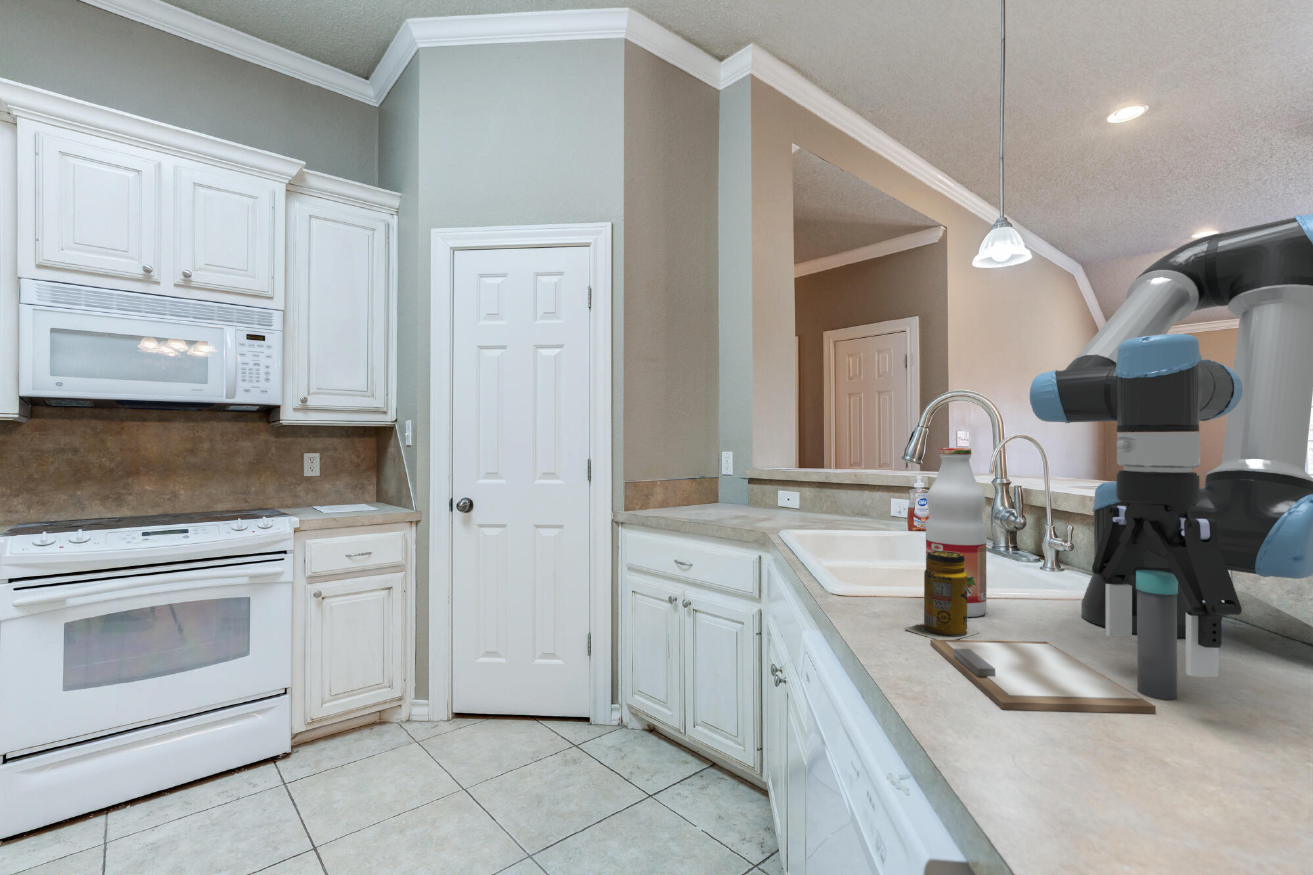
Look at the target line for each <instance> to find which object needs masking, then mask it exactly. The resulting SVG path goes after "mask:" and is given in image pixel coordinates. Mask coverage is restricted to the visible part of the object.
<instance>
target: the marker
mask: <svg viewBox="0 0 1313 875" xmlns="http://www.w3.org/2000/svg"><path fill="white" fill-rule="evenodd" d="M1136 589H1137V634H1136V650H1137V652H1136V659H1137V660H1136V668H1137V669H1136V675H1137V676H1136V677H1137V678H1136V679H1137V680H1136V681H1137V682H1136V684H1137V685H1136V686H1137V687H1136V688H1137V692H1138V693H1140V694H1141V695H1144V696H1145V697H1149V698H1152V699H1157V700H1164V701H1173V700H1177V699H1178V637H1177V594H1178V581H1177V579H1176V577H1175V575H1174V574H1173V573H1169V572H1163V571H1155V570H1137V571H1136Z"/></svg>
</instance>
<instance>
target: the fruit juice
mask: <svg viewBox="0 0 1313 875" xmlns="http://www.w3.org/2000/svg"><path fill="white" fill-rule="evenodd" d="M939 457H940V459H941V462H940V463H941V464H940V468H939V470H938V473H937V476H936V478H935V480H934V482H933V483H932V485H931V486H930V487H929V489H928V490H927V491H928V492H927V493H926V506H927V508H928V512H929V518H928V520H927V522H926V527H925V569H926V568H927V565H926V564H927V561H928V559H927V555H928V552H932V551H948V552H955V553H959V554H962V555H964V558H965V560H964V564H965V569H964V571H965V572H966V574H967V618H977V617H982V616H983V615H985V614H986V611H987V529H986V525H985V523H984V521H983V514H984V511H985V507H986V497H985V493H984V491H983V490H982V488H981V487H980V486H979V484H978V483H977V480H976V479H975V478H976V477H975V475H974V473H973V470H972V467H971V463H970V459H971V458H972V448H969V447H941V448H940V449H939Z"/></svg>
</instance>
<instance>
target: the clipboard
mask: <svg viewBox="0 0 1313 875" xmlns="http://www.w3.org/2000/svg"><path fill="white" fill-rule="evenodd" d="M930 647H932V648H933V649H934V650H935V651H936V652H938V653H939V654H940V655H941V656H942V657H943V658H944V659H945V660H947V661H948V662H949V663H950V665H952V666H953V667H955V669H956V670H958V671H959V673H961V674H962V675H963V676H964V677H965V678H966V679H968V680H969V682H971V683H972V684H973V685H975V687H977V688H978V690H980V691H981V692H982V693H983V694H984V695H985V696H987V698H989V700H991V701H992V702H993V703H995V705H997V706H998V707H999V708H1000V709H1001V710H1003V711H1004V710H1005V711H1006V710H1007V711H1041V712H1043V711H1044V712H1078V713H1079V712H1080V713H1081V712H1083V713H1084V712H1085V713H1088V712H1089V713H1118V714H1119V713H1120V714H1151V715H1152V714H1153V715H1156V714H1157V713H1156V712H1157V709H1156V705H1154V704H1152V703H1151V702H1149V701H1147V700H1146V699H1144V698H1142V697H1140V696H1139V695H1138V694H1136V693H1134V692H1133V691H1130V690H1129V689H1127V688H1125V687H1124V686H1122V685H1120V684H1119V683H1117V682H1116V681H1114V680H1112V679H1110V678H1109V677H1107V676H1105V675H1104V674H1102V673H1101V672H1098V671H1097V670H1095V669H1093V668H1092V667H1090V666H1088V665H1087V664H1085V663H1083V662H1081V661H1080V660H1078V659H1076V658H1074V657H1073V656H1071V655H1069V654H1068V653H1067V652H1064V651H1063V650H1061V649H1059V648H1058V647H1056V646H1054V645H1053V644H1051V643H1049V642H1047V641H1031V640H1030V641H1026V640H1025V641H1024V640H1022V641H1020V640H1014V641H1013V640H982V639H981V640H978V639H977V640H976V639H975V640H974V639H973V640H972V639H969V640H968V639H956V640H937V639H930Z"/></svg>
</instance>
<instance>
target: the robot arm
mask: <svg viewBox="0 0 1313 875" xmlns="http://www.w3.org/2000/svg"><path fill="white" fill-rule="evenodd" d="M1126 292H1127V293H1126V300H1125V301H1124V302H1123V303H1122V304H1121V306H1120V307H1118V309H1117V310H1116V311H1115V312H1114V314H1113V315H1111V317H1110V318H1109V319H1108V320H1107V321H1106V322H1105V323H1104V325H1103V326H1101V328H1100V329H1099V330H1098V332H1097V333H1096V334H1095V335H1094V336H1093V337H1092V338H1091V340H1090V341H1088V343H1087V344H1086V345H1085V346H1084V347H1083V348H1082V350H1081V351H1080V352H1079V353H1078V354H1077V355H1076V357H1074V358H1073V360H1072V361H1071V362H1070V363H1069V364H1068V366H1067V367H1066V368H1065V369H1063V370H1058V369H1053V370H1052V371H1045V372H1042V373H1039V374H1037V375H1036V377H1034V379H1033V380H1032V382H1031V385H1030V388H1029V404H1030V406H1031V409H1032V412H1033V414H1034V415H1035V416H1036V418H1037V419H1039V420H1040V421H1042V422H1047V423H1065V424H1070V423H1089V422H1091V423H1093V422H1094V423H1095V422H1099V423H1100V422H1116V433H1117V434H1116V435H1117V436H1116V440H1117V441H1116V444H1115V445H1116V446H1115V447H1116V464H1117V465H1119V466H1121V467H1123V470H1118V472H1116V481H1105V482H1102V483H1101V484H1098V486H1097V487H1096V488H1095V490H1094V501H1093V508H1092V512H1093V552H1094V553H1093V556H1094V558H1093V563H1092V566H1091V571H1092V575H1091V577H1090V580H1089V582H1088V585H1087V587H1086V590H1085V593H1084V596H1083V598H1082V600H1081V611H1080V612H1081V617H1082V618H1083V619H1084V620H1086V621H1088V622H1089V623H1093V624H1095V625H1097V626H1101V627H1103V628H1105V636H1106V637H1109V638H1132V636H1133V634H1134V635H1135V634H1136V635H1137V589H1136V571H1137V570H1155V571H1163V572H1169V573H1173V574H1174V575H1175V577H1176V579H1177V581H1178V594H1177V639H1178V638H1185V674H1186V675H1188V676H1190V677H1203V678H1207V677H1208V678H1209V677H1210V678H1213V677H1214V678H1219V649H1220V648H1221V646H1222V619H1223V618H1224V617H1225V616H1232V615H1234V616H1235V615H1236V616H1239V615H1241V614H1242V612H1243V611H1242V607H1241V602H1240V600H1239V597H1238V595H1237V592H1236V589H1235V586H1234V583H1233V580H1232V576H1231V574H1230V572H1229V571H1231V572H1239V573H1246V574H1253V575H1258V576H1260V577H1262V578H1270V577H1273V578H1282V579H1283V578H1284V579H1285V578H1286V579H1295V580H1296V579H1297V580H1298V579H1305V578H1309V577H1311V576H1312V575H1313V476H1312V475H1310V474H1309V473H1308V472H1306V463H1307V462H1306V461H1307V454H1308V453H1307V452H1308V442H1309V434H1310V425H1311V424H1310V423H1311V414H1312V413H1311V412H1312V406H1313V405H1312V404H1313V213H1309V214H1303V215H1300V214H1296V215H1294V216H1293V217H1290V218H1287V219H1285V218H1284V219H1280V220H1276V221H1273V222H1272V221H1270V222H1268V223H1267V222H1266V223H1263V224H1262V223H1261V224H1258V225H1253V226H1248V227H1244V228H1239V229H1234V230H1230V231H1225V232H1221V233H1215V234H1211V235H1206V236H1202V237H1200V238H1197V239H1194V240H1192V241H1190V242H1188V243H1185V244H1183V245H1181V246H1179V247H1177V248H1176V249H1174V250H1172V251H1170V252H1169V253H1168V254H1166V255H1164V256H1163V257H1161V258H1160V259H1157V261H1155V262H1154V263H1152V264H1151V265H1150V266H1149V267H1147V268H1146V269H1145V270H1144V271H1143V272H1142V273H1141V274H1140V275H1139V276H1138V277H1136V279H1134V280H1133V282H1132V283H1131V284H1130V286H1129V288H1128V289H1127V291H1126ZM1226 306H1227V309H1228V311H1229V312H1230V314H1232V315H1233V316H1235V317H1237V318H1238V319H1239V321H1238V328H1237V329H1238V330H1237V338H1236V344H1235V345H1236V346H1235V354H1234V361H1233V368H1231V367H1229V366H1227V365H1224V364H1222V363H1220V362H1217V361H1216V360H1214V361H1212V360H1211V359H1205V358H1204V359H1202V358H1203V357H1202V355H1201V353H1200V344H1199V343H1200V342H1199V339H1198V338H1197V337H1196V336H1194V335H1191V334H1182V333H1171V334H1168V332H1170V330H1171V329H1172V327H1174V324H1176V323H1178V322H1181V321H1183V320H1185V319H1186V318H1188V317H1189V316H1190V315H1191V314H1192V313H1193V312H1196V311H1200V310H1203V309H1210V308H1216V307H1217V308H1218V307H1226ZM1226 415H1227V418H1226V425H1225V426H1226V427H1225V434H1224V442H1223V450H1222V458H1221V463H1220V465H1218V466H1217V467H1215V468H1214V469H1212V470H1210V471H1208V472H1206V475H1205V483H1204V486H1203V487H1200V475H1199V474H1198V473H1197V472H1195V471H1193V469H1194V468H1198V467H1200V466H1201V443H1200V442H1201V441H1200V440H1201V437H1200V436H1201V434H1200V422H1207V421H1211V420H1214V419H1219V418H1221V417H1224V416H1226ZM1203 601H1204V602H1203Z"/></svg>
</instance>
